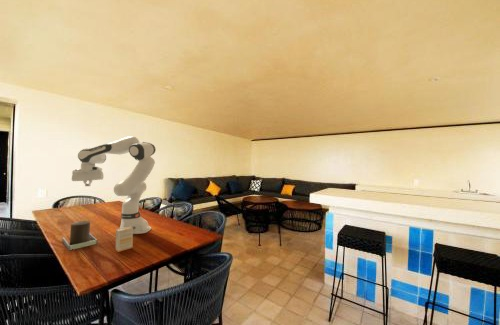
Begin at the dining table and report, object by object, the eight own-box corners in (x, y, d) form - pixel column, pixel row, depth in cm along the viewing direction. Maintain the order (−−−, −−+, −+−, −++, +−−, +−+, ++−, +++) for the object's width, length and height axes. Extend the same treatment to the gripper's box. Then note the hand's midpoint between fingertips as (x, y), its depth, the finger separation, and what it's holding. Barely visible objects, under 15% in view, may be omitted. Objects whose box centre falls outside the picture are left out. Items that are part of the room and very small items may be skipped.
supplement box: (129, 246, 131) (130, 225, 131) (132, 248, 128) (133, 227, 128) (115, 250, 124) (115, 228, 124) (117, 252, 121) (118, 230, 121)
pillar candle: (77, 247, 125) (78, 223, 126) (65, 245, 128) (67, 221, 128) (92, 242, 135) (94, 219, 135) (82, 240, 137) (83, 218, 138)
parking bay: (62, 241, 134) (62, 237, 134) (88, 235, 145) (89, 232, 145) (68, 250, 121) (68, 246, 121) (97, 243, 132) (97, 239, 132)
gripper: (69, 169, 153) (69, 187, 151) (100, 167, 158) (100, 185, 157) (74, 170, 159) (74, 187, 158) (104, 168, 164) (104, 185, 163)
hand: (87, 186), depth 157 cm, fingers closed
